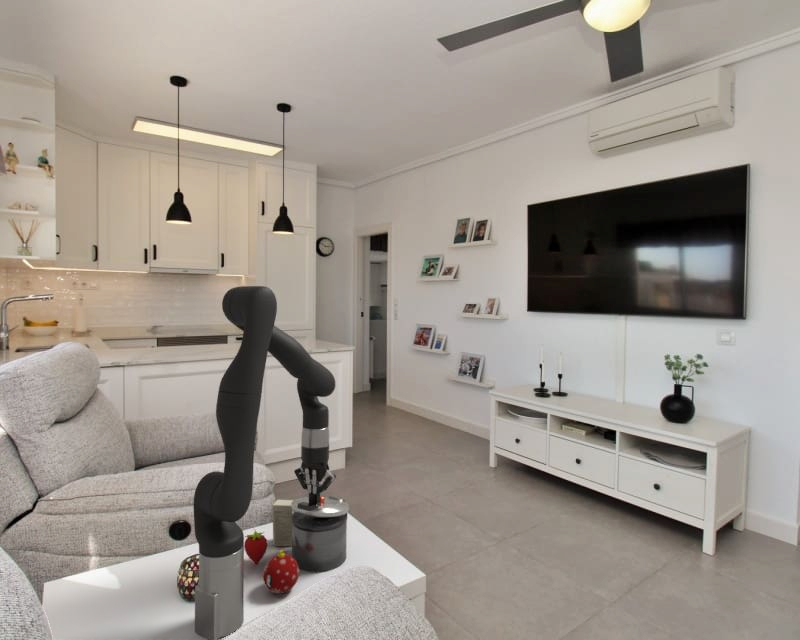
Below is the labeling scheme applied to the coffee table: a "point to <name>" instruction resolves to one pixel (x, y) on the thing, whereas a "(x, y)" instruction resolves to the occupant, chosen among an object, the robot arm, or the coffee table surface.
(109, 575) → the coffee table surface
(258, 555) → the strawberry
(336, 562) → the cooker pot
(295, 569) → the christmas ornament
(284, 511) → the skincare box
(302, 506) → the cooker lid
